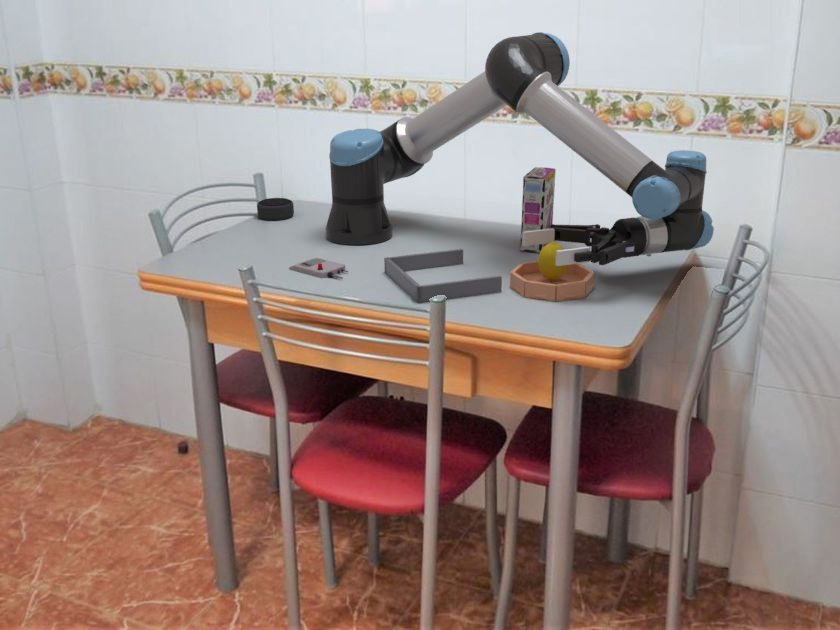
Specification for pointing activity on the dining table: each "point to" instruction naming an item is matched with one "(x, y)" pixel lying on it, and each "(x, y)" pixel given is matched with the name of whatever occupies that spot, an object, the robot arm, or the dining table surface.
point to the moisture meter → (320, 268)
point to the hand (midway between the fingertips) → (539, 248)
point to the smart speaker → (275, 209)
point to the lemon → (550, 262)
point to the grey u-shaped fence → (449, 289)
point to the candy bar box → (537, 203)
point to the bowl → (564, 288)
